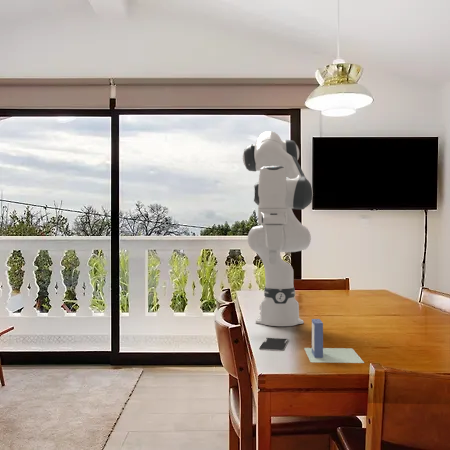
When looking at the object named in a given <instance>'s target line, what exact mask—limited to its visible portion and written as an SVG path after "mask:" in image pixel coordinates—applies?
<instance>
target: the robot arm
mask: <svg viewBox="0 0 450 450" xmlns="http://www.w3.org/2000/svg"><path fill="white" fill-rule="evenodd" d="M299 158H300V149H299V146H298V145H297V143H296V141H295V140H290V139H285V140H282V139H281V137H280V135H279V134H278V133H276V132H275V131H271V130H270V131H268V130H267V131H264V132H262V133H260V134H259V136H258V137H257V139H256V141H255V143H254V144H249V145H247V146H246V147H245V148H244V150H243V153H242V163H243V165H244V166H245V168H246V170H247V171H249V172H257V171H259V175H258V181H257V182H256V183H255V184H254V186H253V187H254V198H253V202H254V203H255V204H256V205H257V207H258V208H257V210H258V212H257V213H258V214H257V217H258V218H257V224H258V225H256V226H252V228H251V229H250V230H249V232H248V234H247V243H248V246H249V247H250V249H251V250H252V251H253V252H254V253H256V254H257V255H258V257H259V258H260V260H261V261H262V265H263V267H264V275H265V276H264V277H265V278H264V279H265V280H264V281H265V286H264V291H263V293H264V294H263V295H264V298H263V299H262V301H260V303H259V316H258V318H257V319H255V323H256V324H261V325H264V326H265V325H266V326H270V327H271V326H272V327H291V326H292V327H293V326H296V325H301V324H302V325H303V324H304V320H303V319H302V318H300V305H299V302H298V301H297V300H296V298H295V295H296V290H295V289H296V288H295V287H294V282H295V281H294V277H295V276H294V269H293V266H292V265H291V264H290V263H288V262H286V261H285V260H283V259H282V257H281V253H296V252H301V251H304V250H307V249H308V247H309V246H310V244H311V240H312V237H311V236H312V235H311V233H310V232H311V231H310V230H309V229H308V227H307V226H305V225H303V223H302V222H300V221H299V220H298V218H297V217H296V215H295V214H294V212H293V210H304V209H306V208H308V207H309V206H310V204H311V203H312V202H313V196H314V195H313V194H314V193H313V187H312V184H311V182H310V181H309V180H308V179H307V177H306V176H305V173H304V171H303V169H302V167H301V165H300V163H299V162H298V160H299Z"/></svg>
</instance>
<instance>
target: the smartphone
mask: <svg viewBox="0 0 450 450" xmlns="http://www.w3.org/2000/svg"><path fill="white" fill-rule="evenodd" d="M288 343H289V338H285V337H265V338H264V340H263V341H262V343H261V344H260V346H259V348H258V350H260V351H273V352H275V351H276V352H284V351H285V348H286V347H287V345H288Z"/></svg>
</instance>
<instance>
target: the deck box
mask: <svg viewBox="0 0 450 450" xmlns="http://www.w3.org/2000/svg"><path fill="white" fill-rule="evenodd" d="M311 348H312V353H313V355H314V357H315V358H323V348H324V323H323V321H322V320H321V318H311Z"/></svg>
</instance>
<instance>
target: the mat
mask: <svg viewBox="0 0 450 450" xmlns="http://www.w3.org/2000/svg"><path fill="white" fill-rule="evenodd" d="M303 349H304V351H305V354H306V356H307V357H308V360H309V362H310V363H325V364H326V363H327V364H329V363H331V364H332V363H334V364H335V363H336V364H337V363H338V364H344V363H345V364H365V362H364V360H363V359H362V358H361V357H360V355H358V353H357V352H356V351H355V350H354V348H351V347H350V348H348V347H347V348H344V347H334V348H332V347H323V358H315V357H314V355H313V353H312V347H304V348H303Z"/></svg>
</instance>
